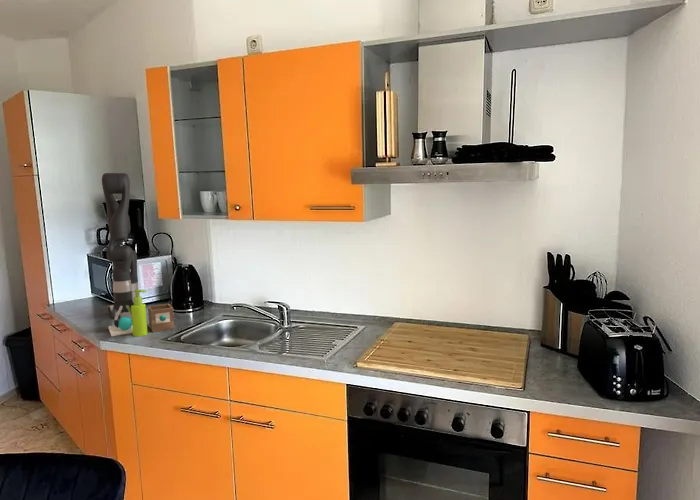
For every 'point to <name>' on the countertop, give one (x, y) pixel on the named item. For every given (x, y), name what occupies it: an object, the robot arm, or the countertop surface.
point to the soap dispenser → (139, 315)
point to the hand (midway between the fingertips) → (125, 326)
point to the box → (161, 317)
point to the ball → (125, 323)
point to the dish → (119, 330)
